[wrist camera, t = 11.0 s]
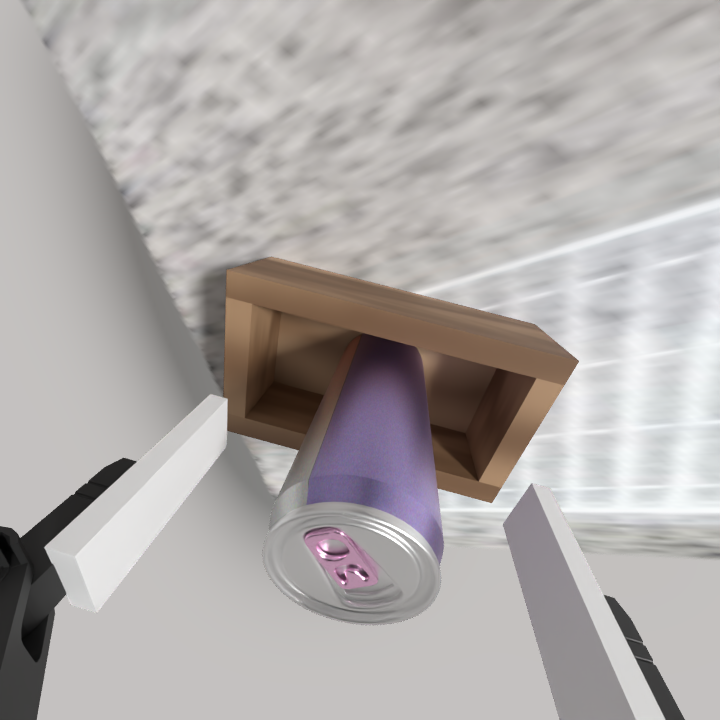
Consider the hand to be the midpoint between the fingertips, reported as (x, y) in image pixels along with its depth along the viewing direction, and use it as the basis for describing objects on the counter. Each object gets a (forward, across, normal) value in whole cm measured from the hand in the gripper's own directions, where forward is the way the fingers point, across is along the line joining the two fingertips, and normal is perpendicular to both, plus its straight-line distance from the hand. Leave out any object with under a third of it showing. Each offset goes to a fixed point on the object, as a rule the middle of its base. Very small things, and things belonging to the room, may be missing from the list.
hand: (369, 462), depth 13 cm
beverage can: (+11, 0, -1) cm, 11 cm away
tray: (+12, 0, -1) cm, 12 cm away
